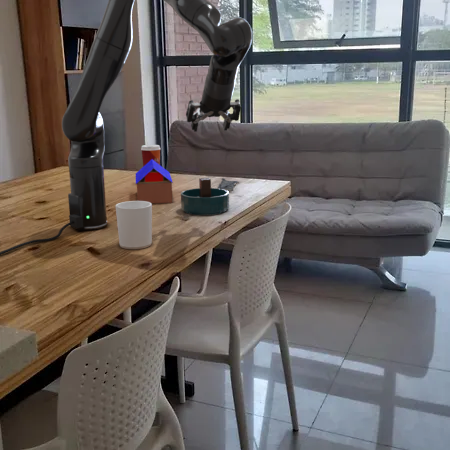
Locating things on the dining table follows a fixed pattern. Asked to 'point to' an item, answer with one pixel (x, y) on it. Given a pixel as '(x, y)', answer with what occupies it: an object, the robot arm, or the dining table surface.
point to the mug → (134, 224)
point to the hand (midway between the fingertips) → (209, 128)
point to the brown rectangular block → (205, 187)
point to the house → (154, 184)
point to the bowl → (204, 202)
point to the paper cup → (150, 153)
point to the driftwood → (226, 184)
